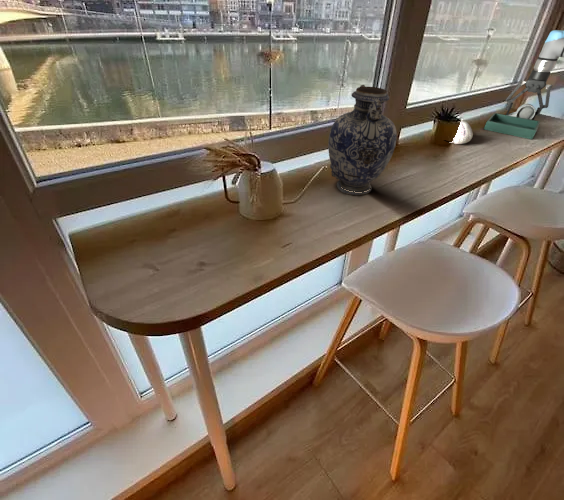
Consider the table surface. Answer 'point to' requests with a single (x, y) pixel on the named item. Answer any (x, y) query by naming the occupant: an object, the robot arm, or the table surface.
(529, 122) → the tray
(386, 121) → the decorative vase
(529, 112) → the ceramic mug
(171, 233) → the table surface
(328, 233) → the table surface
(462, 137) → the sea urchin shell
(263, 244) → the table surface
